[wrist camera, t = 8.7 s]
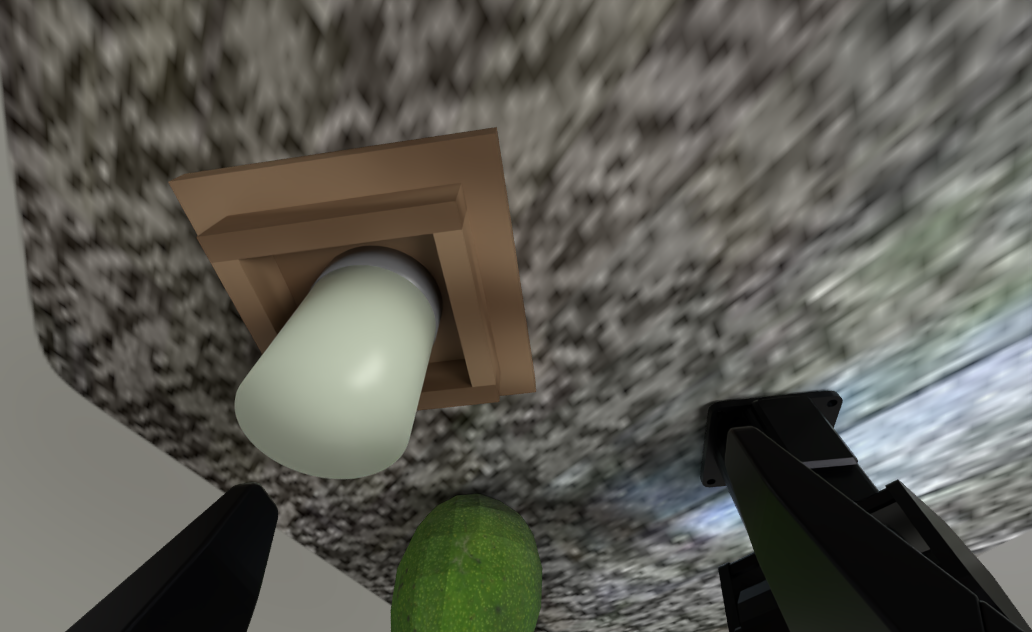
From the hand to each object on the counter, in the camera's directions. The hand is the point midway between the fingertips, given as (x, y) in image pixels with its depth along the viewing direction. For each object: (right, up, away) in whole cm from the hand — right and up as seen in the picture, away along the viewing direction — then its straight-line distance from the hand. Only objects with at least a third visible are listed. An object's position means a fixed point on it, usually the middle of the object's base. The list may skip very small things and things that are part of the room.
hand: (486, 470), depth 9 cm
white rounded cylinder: (-5, +4, +11) cm, 12 cm away
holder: (-5, +4, +12) cm, 13 cm away
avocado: (-2, -9, +20) cm, 22 cm away
